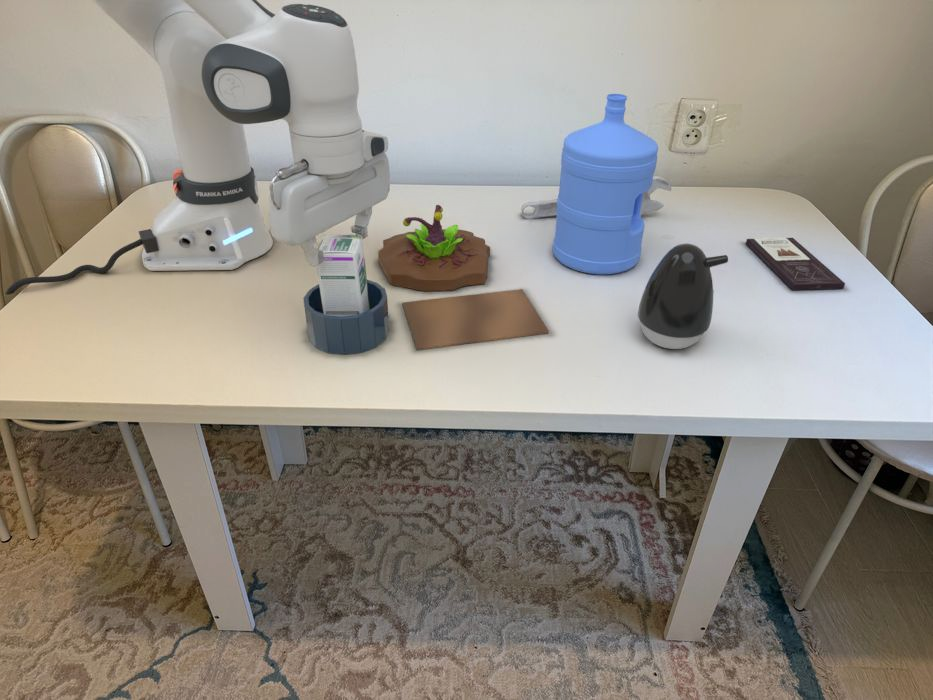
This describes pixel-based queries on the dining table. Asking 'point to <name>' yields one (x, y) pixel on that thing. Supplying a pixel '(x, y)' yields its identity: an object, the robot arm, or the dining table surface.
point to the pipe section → (347, 323)
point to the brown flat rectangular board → (472, 319)
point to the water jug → (603, 193)
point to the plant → (434, 257)
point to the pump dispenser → (679, 298)
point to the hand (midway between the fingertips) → (338, 250)
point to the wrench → (550, 206)
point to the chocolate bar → (794, 264)
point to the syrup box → (343, 276)
